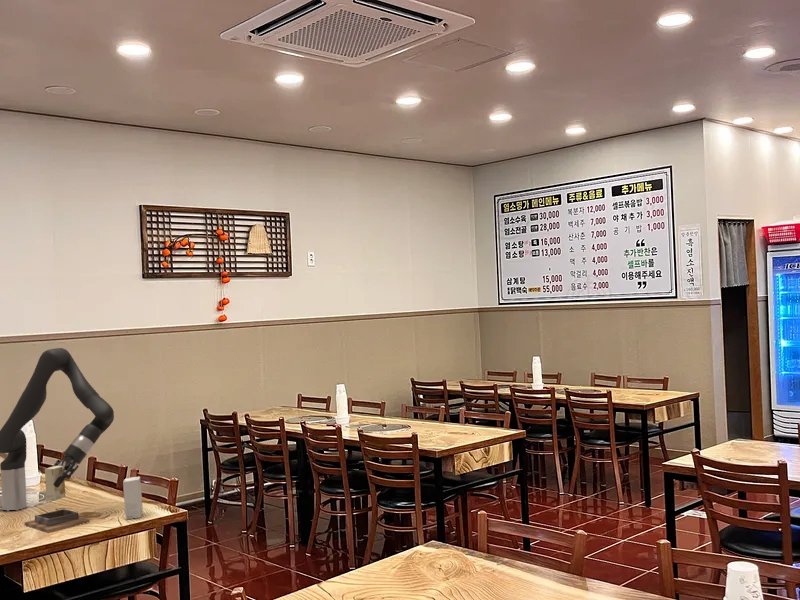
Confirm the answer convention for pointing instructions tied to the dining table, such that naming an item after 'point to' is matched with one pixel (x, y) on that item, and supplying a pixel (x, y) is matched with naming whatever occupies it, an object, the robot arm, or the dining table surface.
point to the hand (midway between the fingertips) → (51, 485)
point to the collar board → (56, 520)
